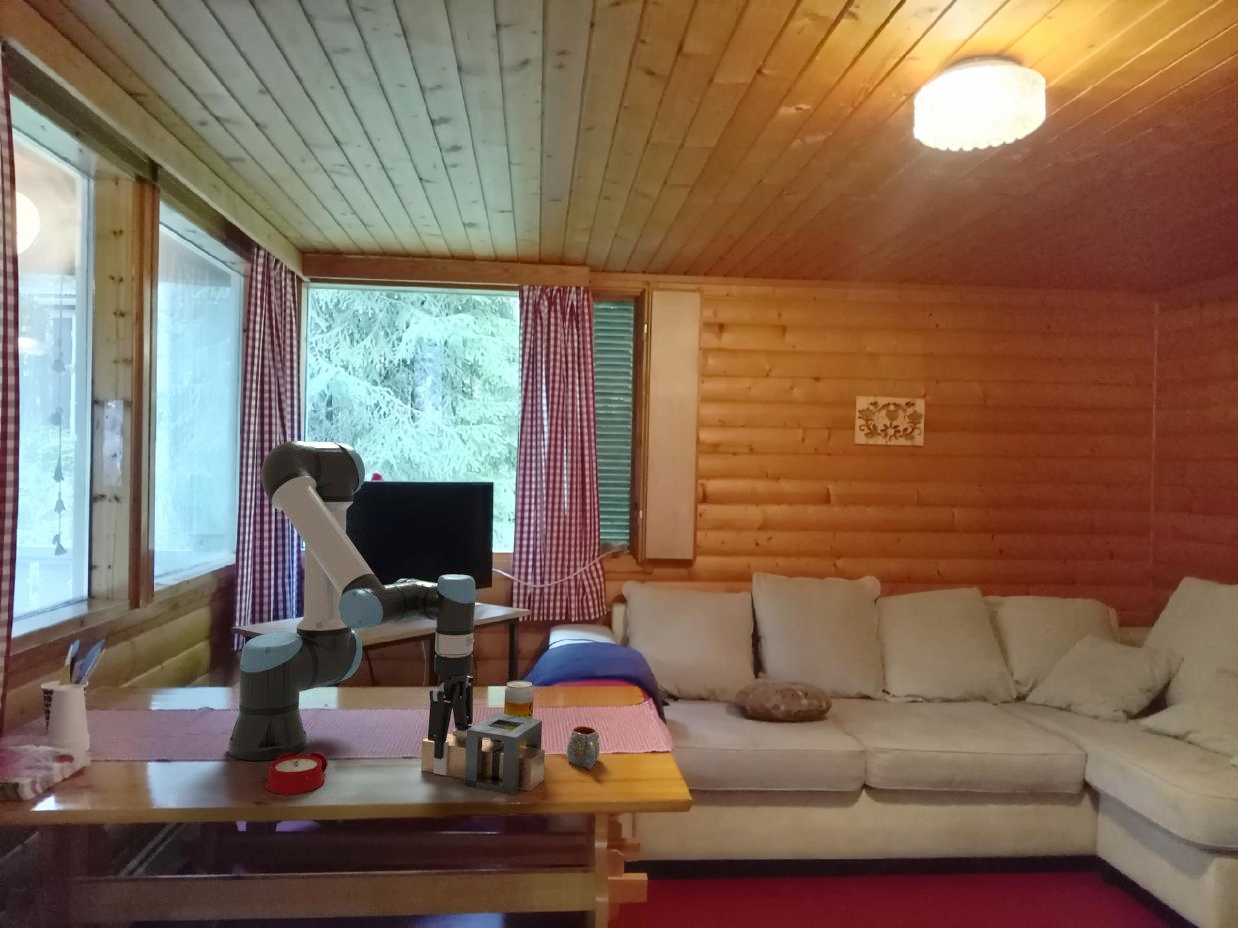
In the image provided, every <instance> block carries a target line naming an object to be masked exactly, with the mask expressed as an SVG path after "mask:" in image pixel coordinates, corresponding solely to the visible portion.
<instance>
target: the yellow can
mask: <svg viewBox="0 0 1238 928" xmlns="http://www.w3.org/2000/svg"><path fill="white" fill-rule="evenodd" d="M534 692H535V689H534V686H533V683H532V682H531V681H526V680H512V681H509V682H507V683H506V687H505V688H504V706H503V708H504V709H503V714H505V715H511V716H518V717H524V718H530V719H534V715H533V714H534ZM515 728H517V727H512V726H506V729H507V730H514V729H515ZM520 746H525V747H526V740H525V741H524V742H522V743H521V744H520Z"/></svg>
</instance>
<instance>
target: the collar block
mask: <svg viewBox="0 0 1238 928" xmlns="http://www.w3.org/2000/svg"><path fill="white" fill-rule="evenodd" d="M471 726H472V727H470V728H468V729H467V730H466V760H465V779H464V786H466V787H471V788H474V789H475V788H476V789H480V788H481V789H482V790H487V791H490V790H491V792H497V793H501V792H502V793H501V794H508V795H511V796H512V795H513V796H515V795H516V794H517V793H518V792H519V789H518V782H519V757H520V744H521V743H522V742H524V741H525V740H526V747H531V748H537V749H542V738H543V737H542V736H543V735H542V734H543V733H542V732H543V720H542V719H537V718H536V719H535V718H533V719H530V718H524V717H518V716H511V715H505V714H504V713H497V712H495V713H493V714H491V715H490V716H487V717H486V718H484V719H482V720H481V721H478V722H477V723H476V724H474V725H471ZM506 726H512V727H517V728H515V729H514V730H507V729H506ZM484 738H485V739H489V741H495V742H501V743H504V752H503V777H502V782H498V781H493V780H488V779H482V778H481V764H482V739H484Z"/></svg>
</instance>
